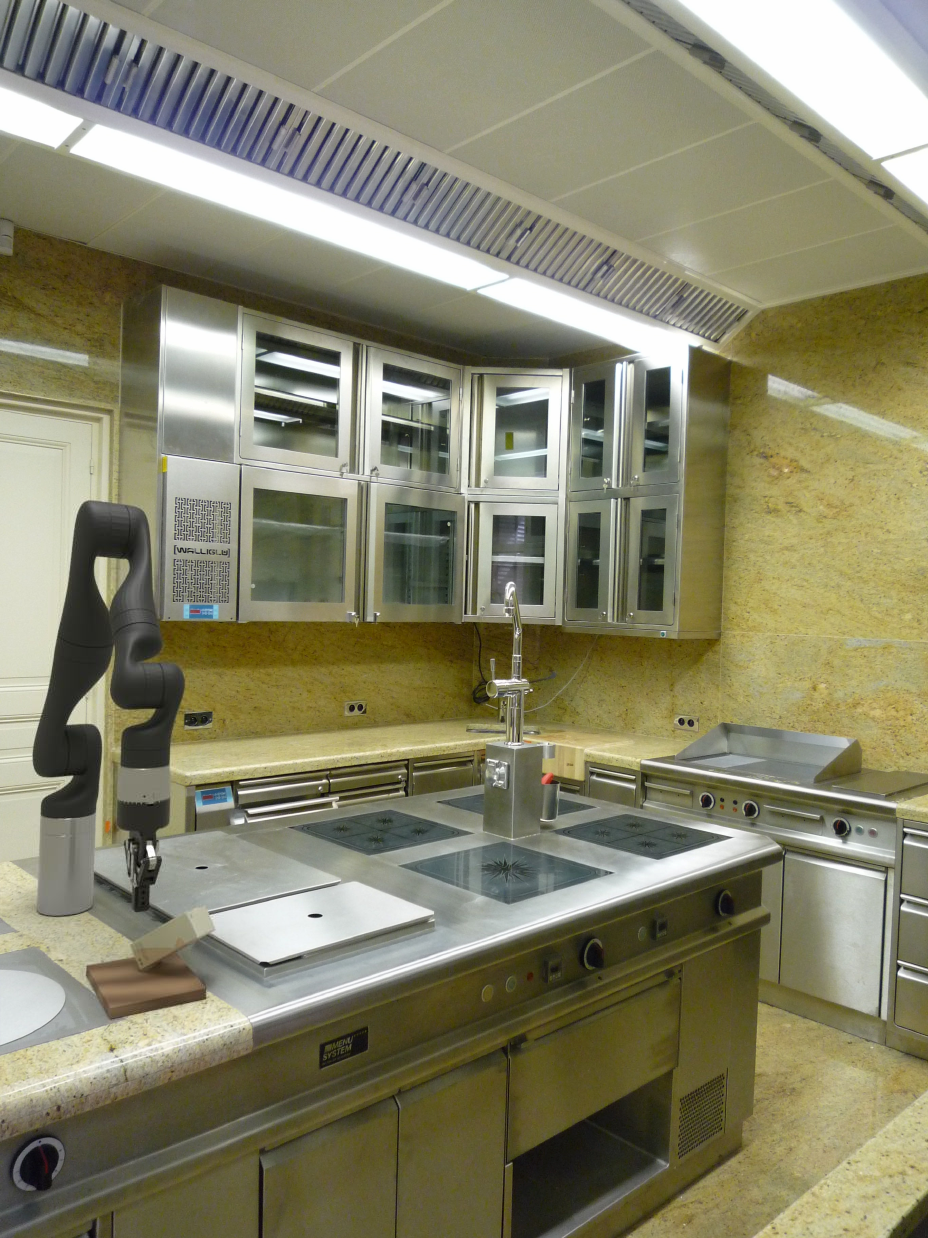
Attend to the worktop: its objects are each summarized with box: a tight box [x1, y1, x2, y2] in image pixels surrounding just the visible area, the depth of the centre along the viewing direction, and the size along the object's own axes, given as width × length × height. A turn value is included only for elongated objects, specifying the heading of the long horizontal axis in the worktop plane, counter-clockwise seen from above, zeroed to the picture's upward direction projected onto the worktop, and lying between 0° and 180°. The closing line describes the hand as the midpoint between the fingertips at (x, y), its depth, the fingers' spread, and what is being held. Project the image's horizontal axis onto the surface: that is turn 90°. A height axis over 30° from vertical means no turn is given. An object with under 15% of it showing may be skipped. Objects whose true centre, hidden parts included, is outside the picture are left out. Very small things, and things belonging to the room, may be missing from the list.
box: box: [129, 903, 216, 970], centre depth 131 cm, size 5×4×11 cm
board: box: [85, 952, 207, 1020], centre depth 128 cm, size 16×13×2 cm
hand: (140, 910), depth 132 cm, fingers closed
